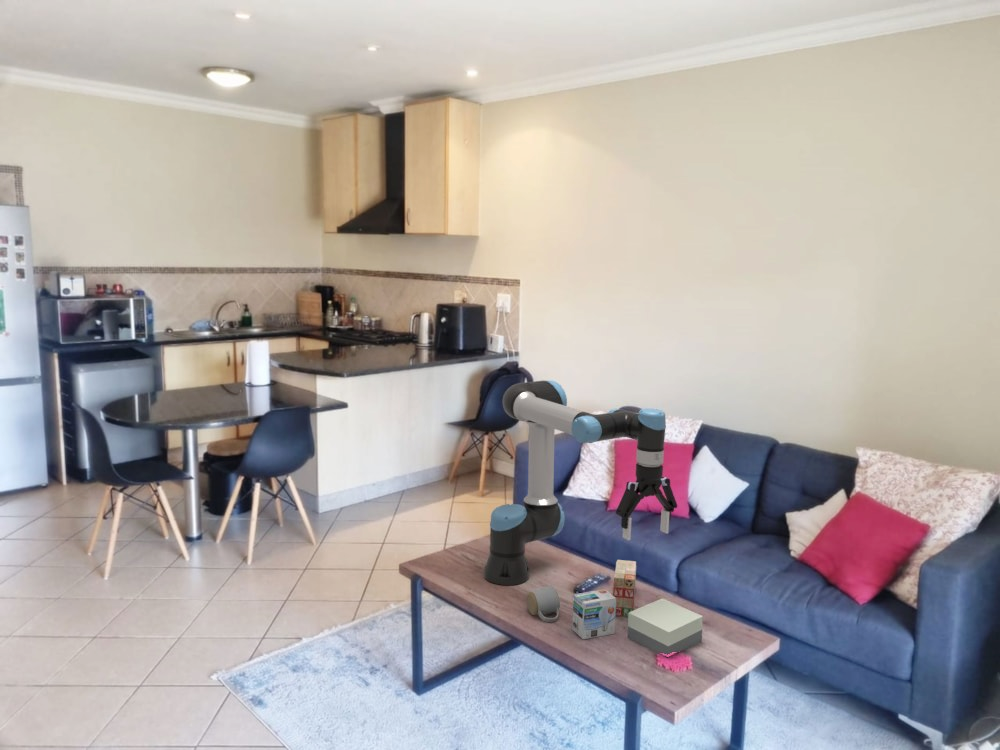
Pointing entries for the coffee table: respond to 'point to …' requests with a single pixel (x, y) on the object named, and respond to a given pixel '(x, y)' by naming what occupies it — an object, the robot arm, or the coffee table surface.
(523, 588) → the coffee table surface
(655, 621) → the tower top slab
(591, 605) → the light bulb box
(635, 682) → the coffee table surface
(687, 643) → the tower base slab
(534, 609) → the ceramic mug
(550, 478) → the robot arm
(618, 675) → the coffee table surface
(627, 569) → the stack of blocks
